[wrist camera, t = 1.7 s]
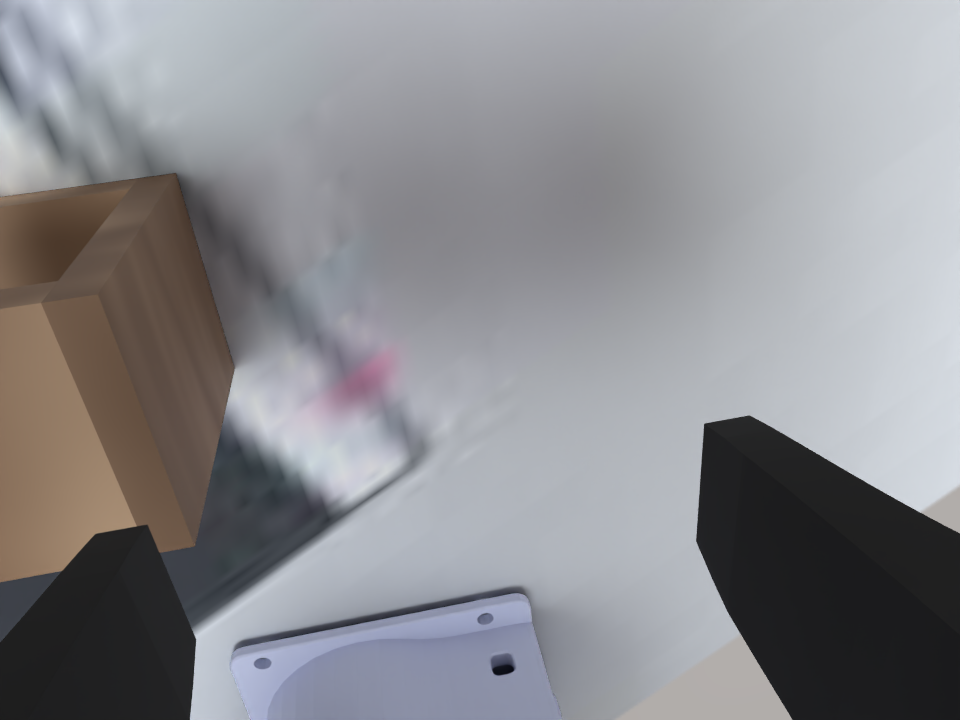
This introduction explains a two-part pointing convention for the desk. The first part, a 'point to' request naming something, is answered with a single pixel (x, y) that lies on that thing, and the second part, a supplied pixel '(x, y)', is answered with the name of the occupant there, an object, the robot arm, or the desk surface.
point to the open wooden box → (104, 371)
